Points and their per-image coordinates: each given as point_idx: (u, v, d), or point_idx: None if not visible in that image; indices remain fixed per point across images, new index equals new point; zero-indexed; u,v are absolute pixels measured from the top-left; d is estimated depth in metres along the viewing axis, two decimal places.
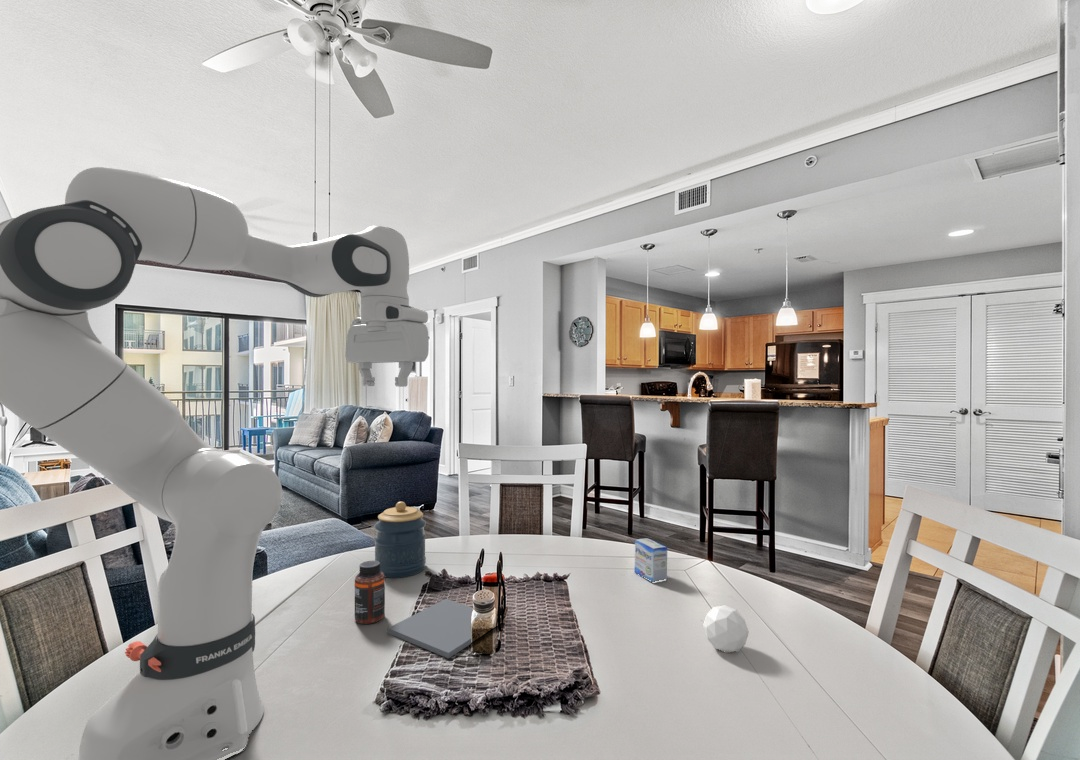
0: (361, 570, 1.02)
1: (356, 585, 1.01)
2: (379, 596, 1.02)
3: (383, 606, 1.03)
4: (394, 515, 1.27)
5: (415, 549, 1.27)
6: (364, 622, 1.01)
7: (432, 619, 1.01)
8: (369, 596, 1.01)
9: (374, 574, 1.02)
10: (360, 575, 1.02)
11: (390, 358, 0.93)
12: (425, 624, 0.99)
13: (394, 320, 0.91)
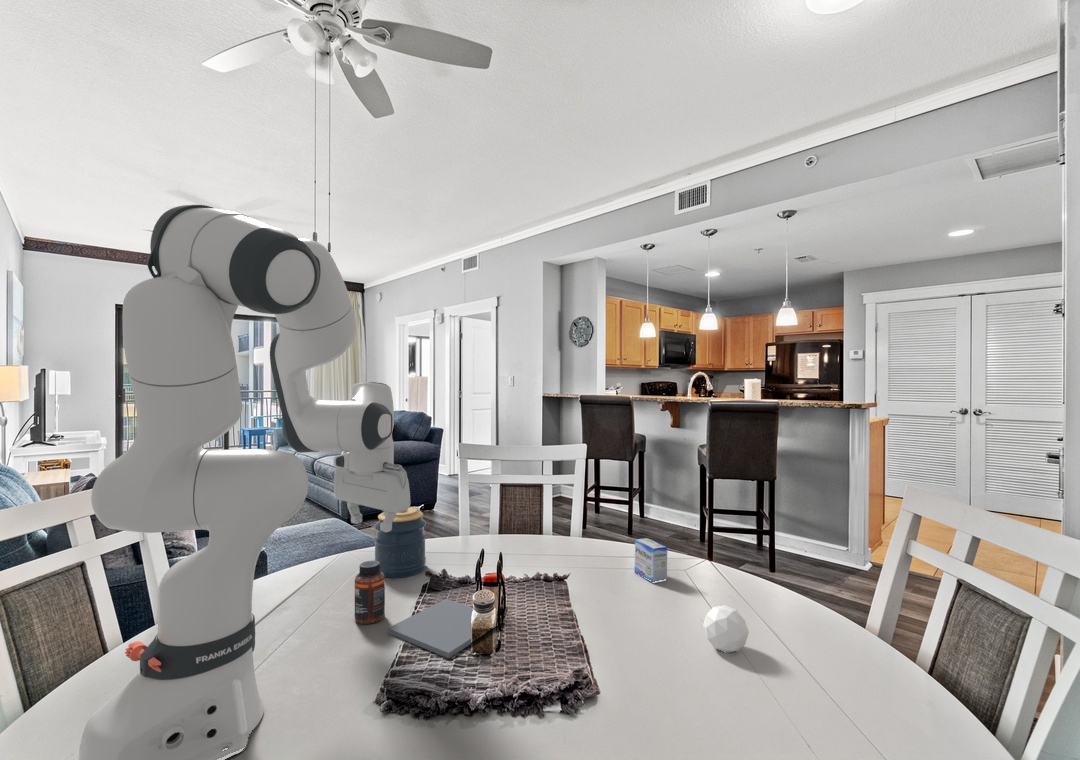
0: (361, 570, 1.02)
1: (356, 585, 1.01)
2: (379, 596, 1.02)
3: (383, 606, 1.03)
4: None
5: (415, 549, 1.27)
6: (364, 622, 1.01)
7: (432, 619, 1.01)
8: (369, 596, 1.01)
9: (374, 574, 1.02)
10: (360, 575, 1.02)
11: None
12: (425, 624, 0.99)
13: None
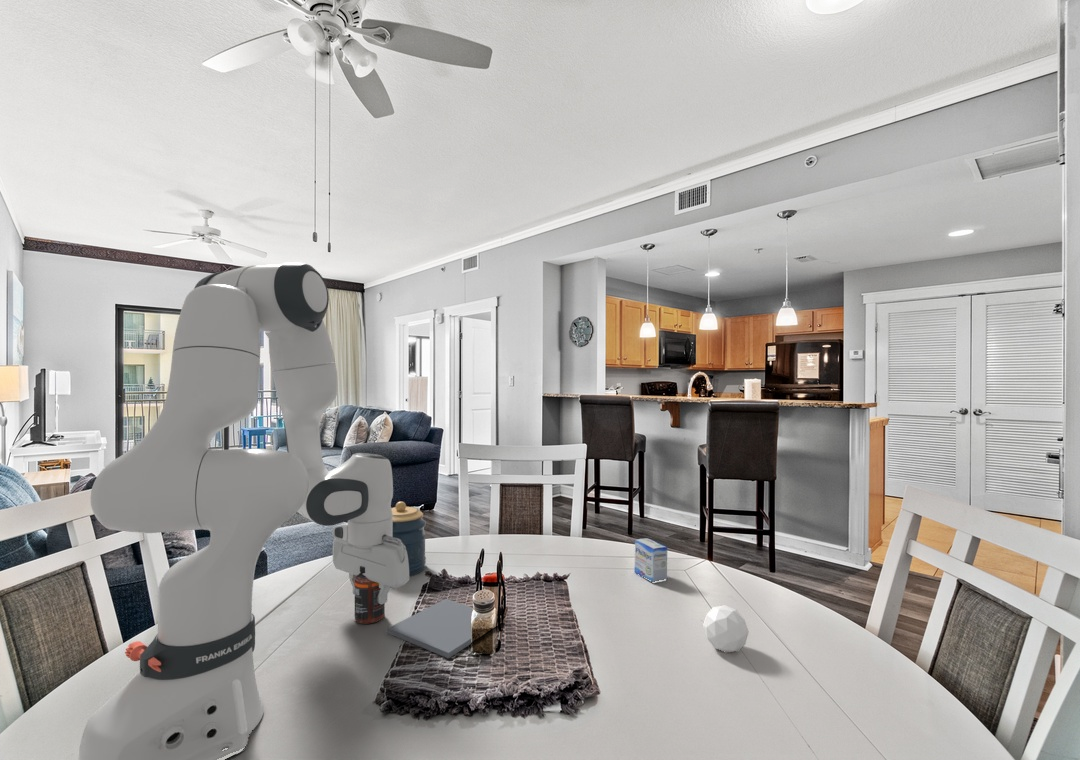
0: (361, 570, 1.02)
1: (356, 585, 1.01)
2: None
3: (383, 606, 1.03)
4: (394, 515, 1.27)
5: (415, 549, 1.27)
6: (364, 622, 1.01)
7: (432, 619, 1.01)
8: (368, 596, 1.01)
9: None
10: (360, 575, 1.02)
11: None
12: (425, 624, 0.99)
13: None
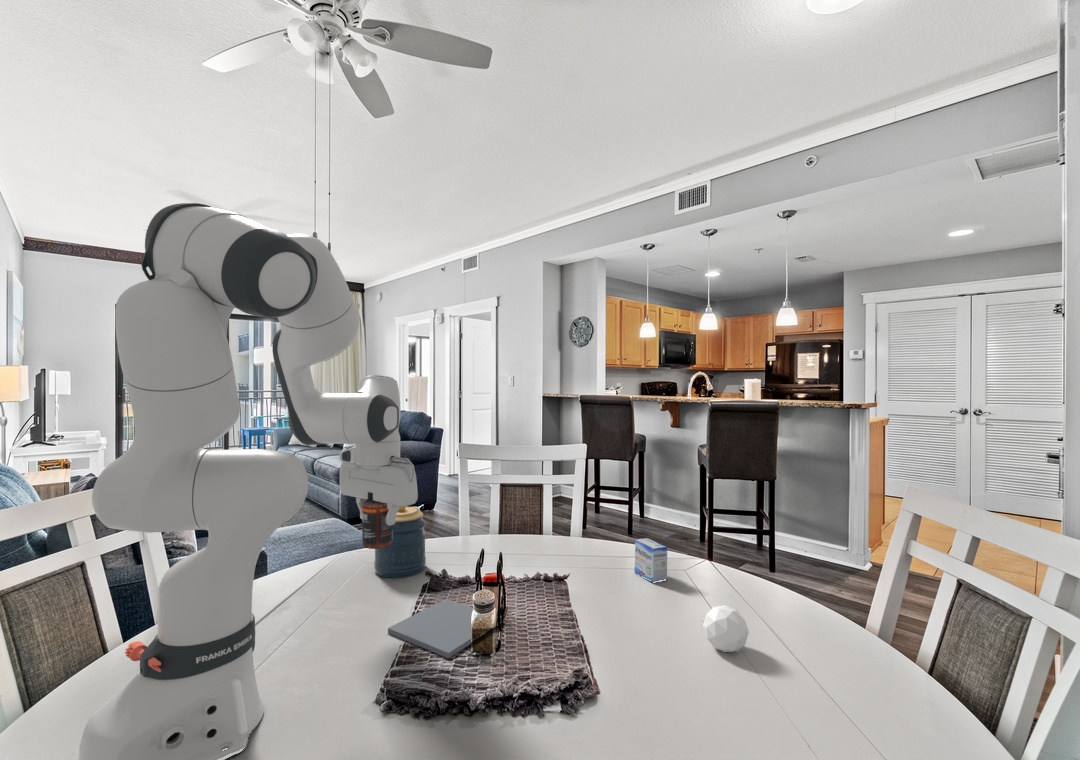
0: (369, 496, 1.02)
1: (364, 510, 1.01)
2: None
3: (391, 533, 1.03)
4: None
5: (415, 549, 1.27)
6: (372, 547, 1.00)
7: (432, 619, 1.01)
8: (377, 521, 1.00)
9: None
10: (368, 501, 1.02)
11: None
12: (425, 624, 0.99)
13: None
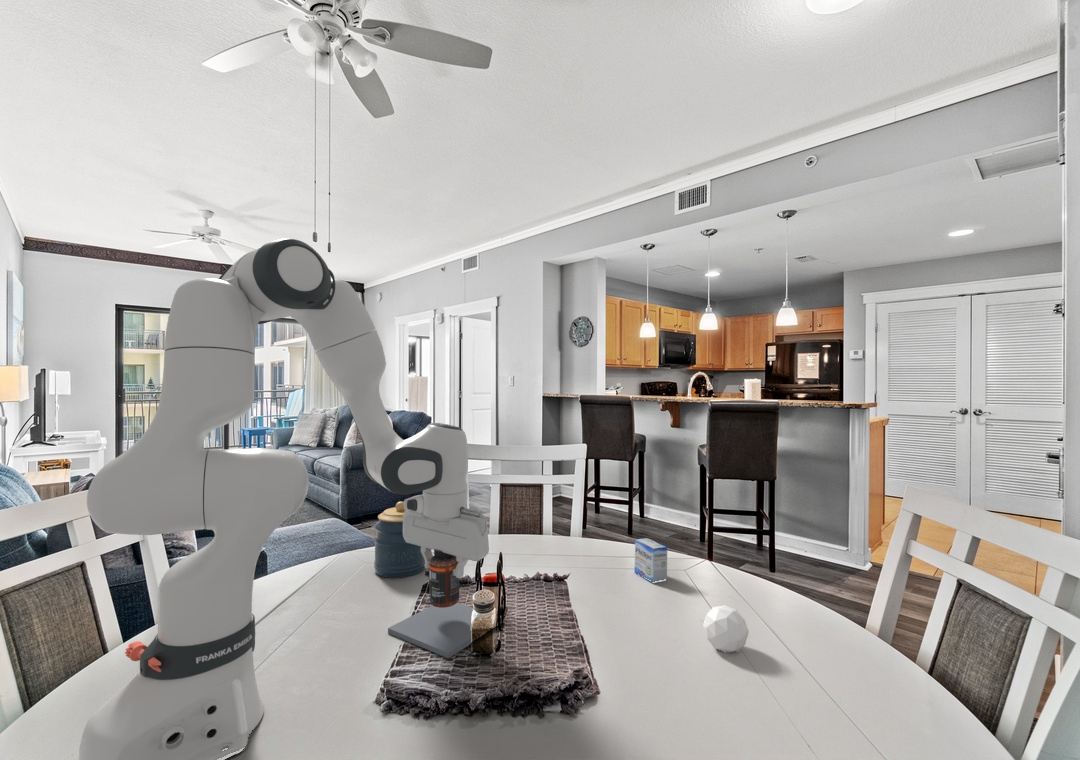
0: (437, 554, 0.99)
1: (432, 569, 0.99)
2: (456, 579, 1.00)
3: (458, 589, 1.01)
4: (394, 515, 1.27)
5: (415, 549, 1.27)
6: (441, 606, 0.98)
7: (432, 619, 1.01)
8: (446, 580, 0.98)
9: (450, 557, 0.99)
10: (436, 559, 0.99)
11: None
12: (425, 624, 0.99)
13: None
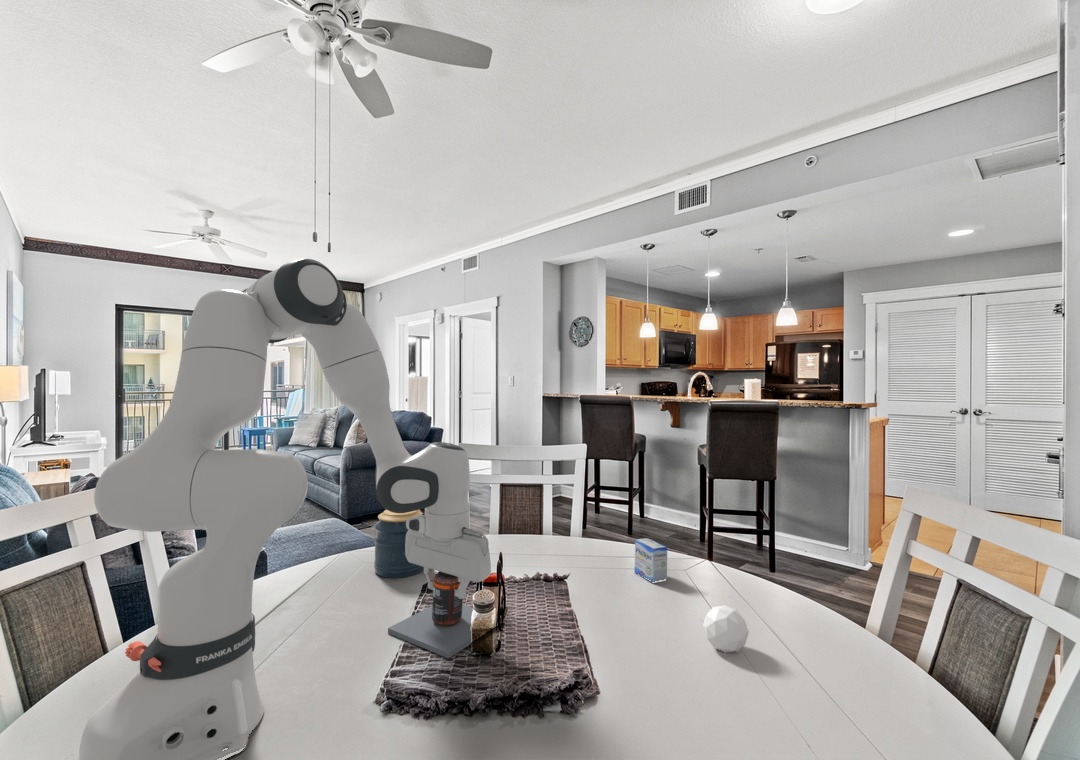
0: None
1: (436, 586, 0.98)
2: None
3: (461, 608, 1.00)
4: (394, 515, 1.27)
5: None
6: (444, 624, 0.98)
7: None
8: (449, 598, 0.98)
9: None
10: (440, 576, 0.99)
11: None
12: (425, 624, 0.99)
13: None
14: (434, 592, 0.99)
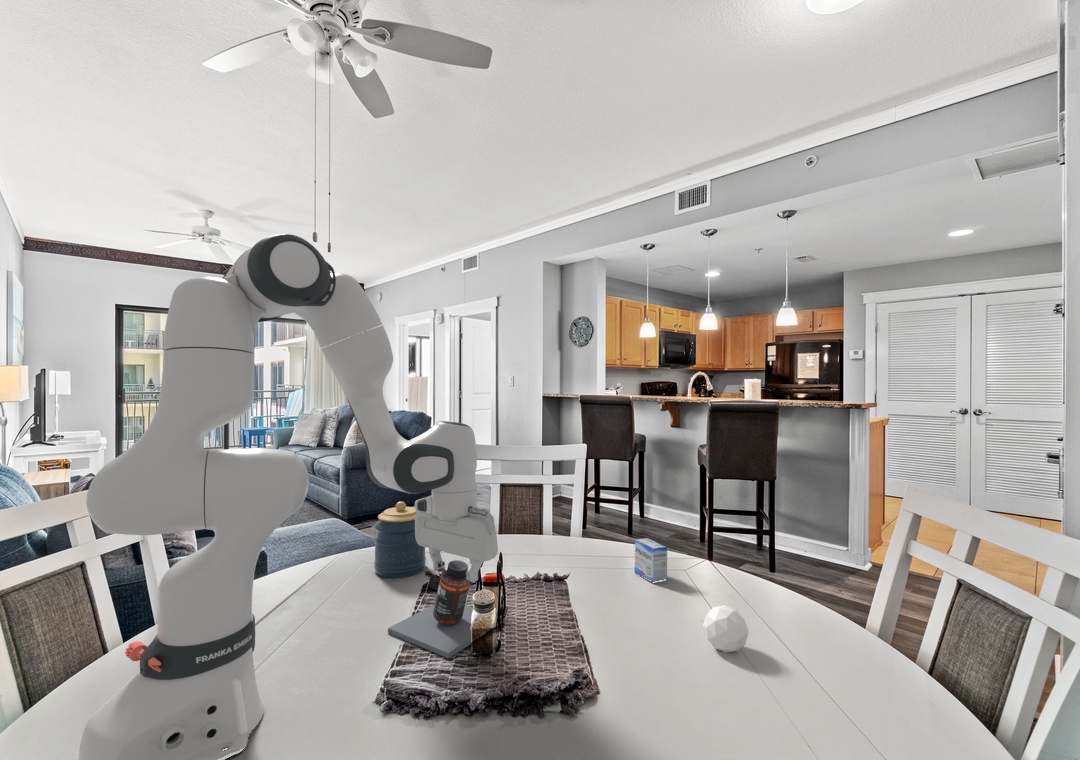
0: (450, 571, 0.98)
1: (443, 585, 0.97)
2: (463, 600, 0.99)
3: (463, 608, 1.00)
4: (394, 515, 1.27)
5: (415, 549, 1.27)
6: (444, 623, 0.98)
7: (432, 619, 1.01)
8: (454, 599, 0.97)
9: (463, 578, 0.98)
10: (448, 576, 0.98)
11: None
12: (425, 624, 0.99)
13: None
14: (439, 590, 0.98)
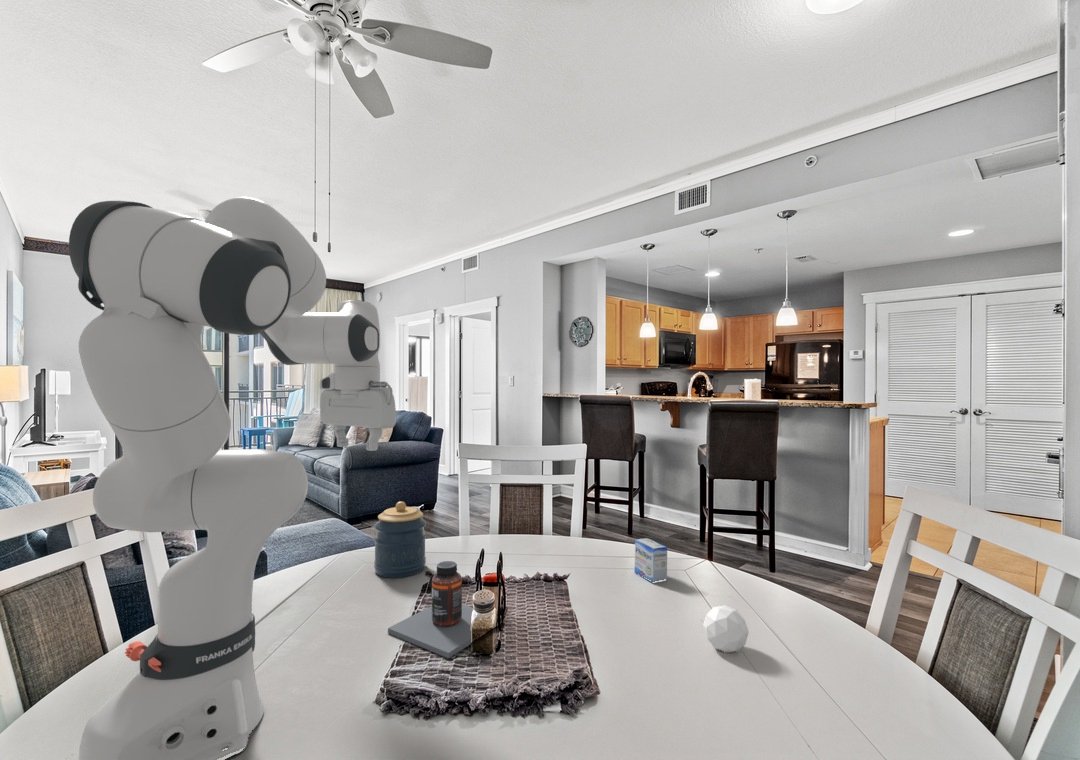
0: (439, 571, 0.99)
1: (435, 586, 0.98)
2: (458, 597, 0.99)
3: (461, 608, 1.00)
4: (394, 515, 1.27)
5: (415, 549, 1.27)
6: (444, 624, 0.98)
7: None
8: (448, 598, 0.98)
9: (453, 575, 0.99)
10: (438, 576, 0.99)
11: None
12: (425, 624, 0.99)
13: None
14: (433, 593, 0.99)
